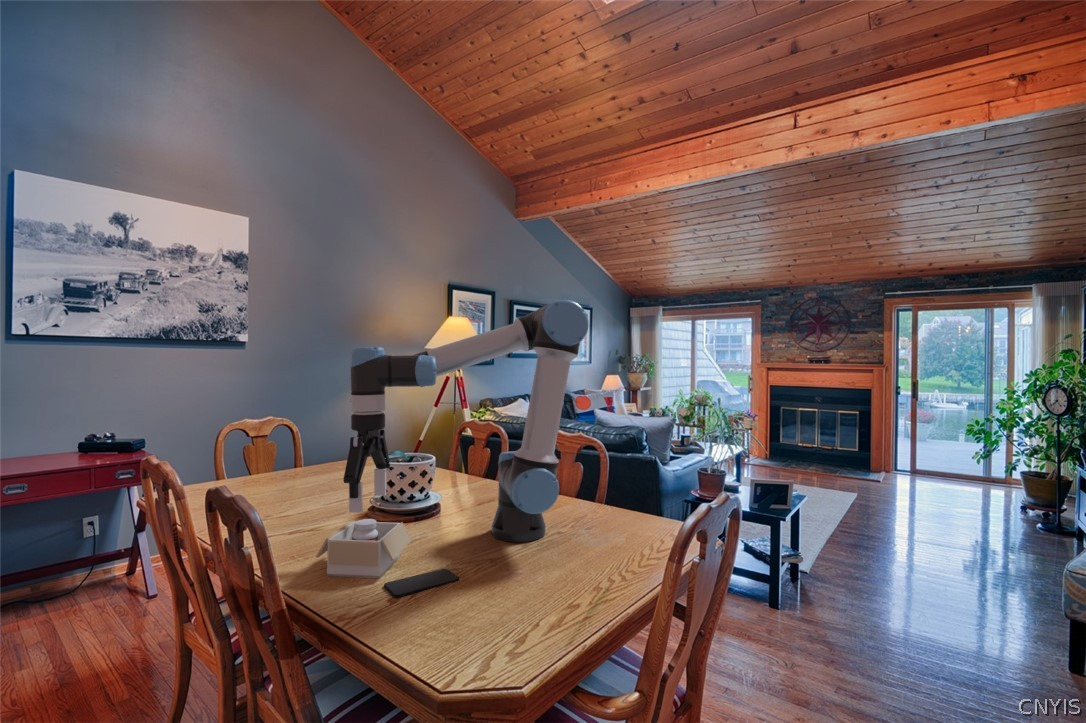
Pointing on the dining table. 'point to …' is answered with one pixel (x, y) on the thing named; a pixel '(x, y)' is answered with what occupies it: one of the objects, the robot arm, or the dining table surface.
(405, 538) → the flap
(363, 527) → the pill bottle
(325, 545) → the flap
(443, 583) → the smartphone
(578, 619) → the dining table surface
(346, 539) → the carton
